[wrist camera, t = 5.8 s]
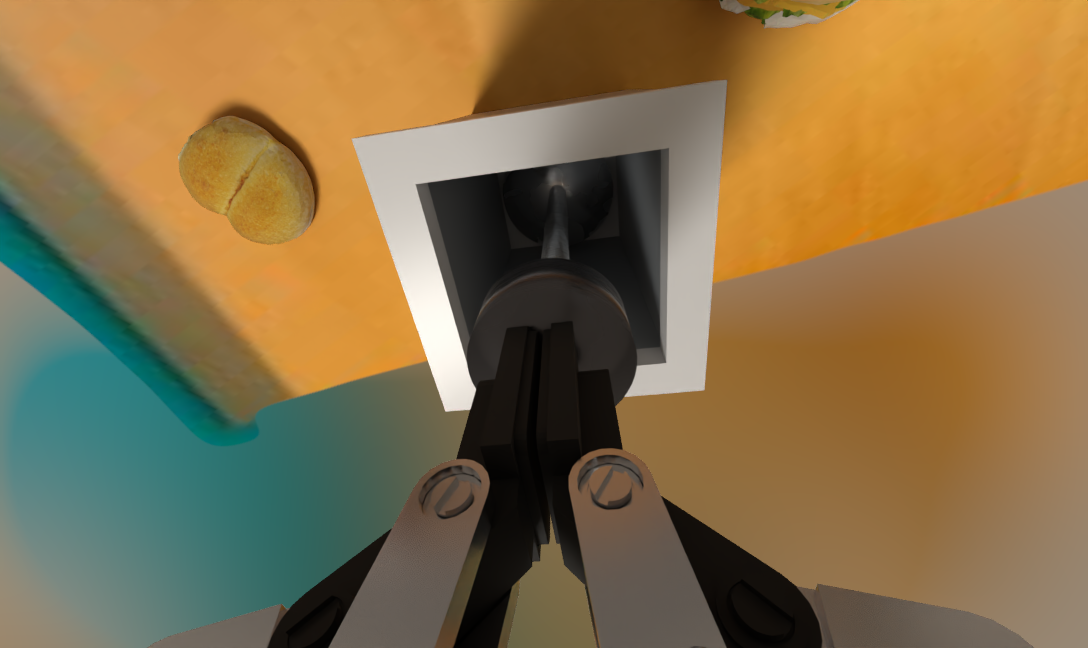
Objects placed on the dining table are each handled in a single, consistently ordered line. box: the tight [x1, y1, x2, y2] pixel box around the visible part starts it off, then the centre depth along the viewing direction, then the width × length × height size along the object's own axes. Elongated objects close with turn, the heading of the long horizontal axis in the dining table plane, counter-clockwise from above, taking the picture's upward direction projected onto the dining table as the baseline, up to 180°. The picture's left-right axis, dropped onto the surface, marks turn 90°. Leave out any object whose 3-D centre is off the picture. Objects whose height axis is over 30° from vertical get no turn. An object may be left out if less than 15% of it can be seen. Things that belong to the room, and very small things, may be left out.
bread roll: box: [178, 116, 315, 245], centre depth 30 cm, size 8×9×4 cm
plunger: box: [467, 157, 637, 406], centre depth 19 cm, size 8×8×21 cm
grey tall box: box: [352, 80, 727, 411], centre depth 23 cm, size 11×11×18 cm
